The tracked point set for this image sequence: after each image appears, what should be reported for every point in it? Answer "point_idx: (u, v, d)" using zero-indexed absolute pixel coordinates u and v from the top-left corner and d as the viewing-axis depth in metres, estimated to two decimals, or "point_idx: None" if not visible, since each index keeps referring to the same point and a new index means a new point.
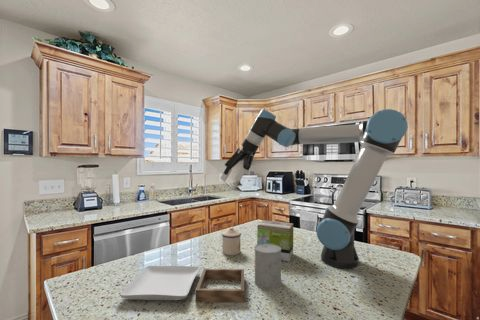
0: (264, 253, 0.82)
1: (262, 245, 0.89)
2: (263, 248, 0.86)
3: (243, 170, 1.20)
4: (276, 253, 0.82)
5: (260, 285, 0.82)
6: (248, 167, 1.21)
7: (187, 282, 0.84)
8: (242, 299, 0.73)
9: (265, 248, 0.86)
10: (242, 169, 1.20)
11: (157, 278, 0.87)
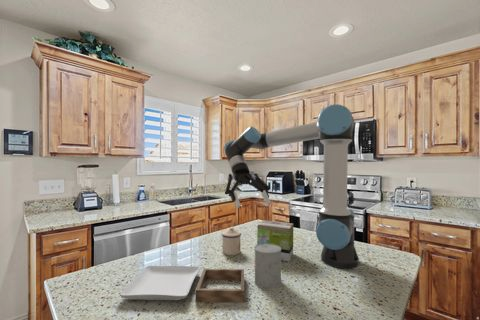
0: (264, 253, 0.82)
1: (262, 245, 0.89)
2: (263, 248, 0.86)
3: (263, 193, 1.02)
4: (276, 253, 0.82)
5: (260, 285, 0.82)
6: None
7: (187, 282, 0.84)
8: (242, 299, 0.73)
9: (265, 248, 0.86)
10: (262, 194, 1.02)
11: (157, 278, 0.87)
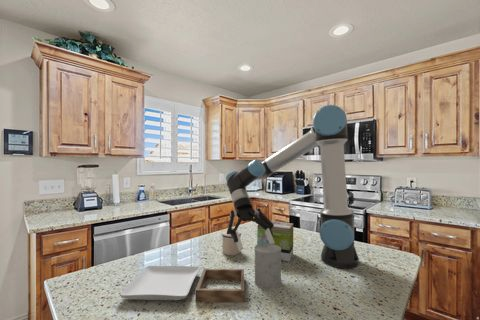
0: (264, 253, 0.82)
1: (262, 245, 0.89)
2: (263, 248, 0.86)
3: (267, 231, 0.97)
4: (276, 253, 0.82)
5: (260, 285, 0.82)
6: (271, 225, 0.99)
7: (187, 282, 0.84)
8: (242, 299, 0.73)
9: (265, 248, 0.86)
10: (266, 232, 0.98)
11: (157, 278, 0.87)
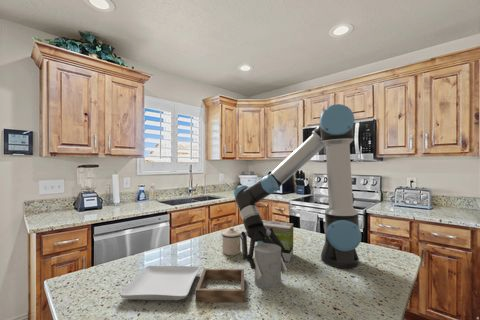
0: (264, 253, 0.82)
1: (262, 245, 0.89)
2: (263, 248, 0.86)
3: None
4: (276, 253, 0.82)
5: (260, 285, 0.82)
6: (282, 249, 0.90)
7: (187, 282, 0.84)
8: (242, 299, 0.73)
9: (265, 248, 0.86)
10: None
11: (157, 278, 0.87)
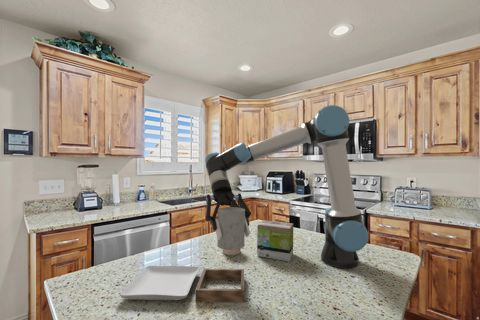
0: (225, 213, 0.79)
1: (227, 208, 0.86)
2: (227, 210, 0.83)
3: None
4: (238, 213, 0.79)
5: (221, 246, 0.80)
6: (248, 214, 0.88)
7: (187, 282, 0.84)
8: (242, 299, 0.73)
9: (229, 210, 0.84)
10: None
11: (157, 278, 0.87)
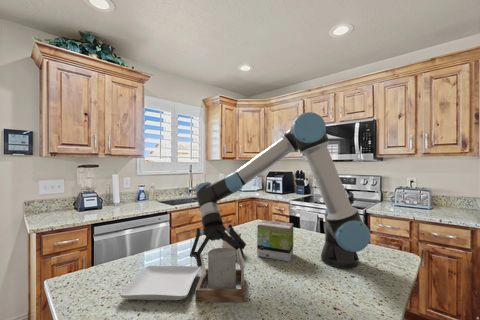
0: (215, 258, 0.77)
1: (218, 249, 0.84)
2: (217, 253, 0.81)
3: (237, 252, 0.85)
4: (228, 258, 0.77)
5: None
6: None
7: (187, 282, 0.84)
8: (242, 299, 0.73)
9: (220, 252, 0.82)
10: (237, 253, 0.86)
11: (157, 278, 0.87)
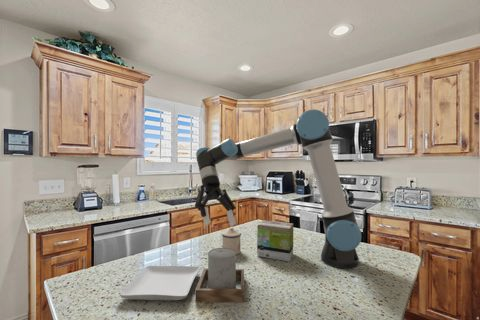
0: (215, 258, 0.77)
1: (218, 249, 0.84)
2: (217, 253, 0.81)
3: (229, 212, 1.01)
4: (228, 258, 0.77)
5: None
6: None
7: (187, 282, 0.84)
8: (242, 299, 0.73)
9: (220, 252, 0.82)
10: (228, 212, 1.02)
11: (157, 278, 0.87)
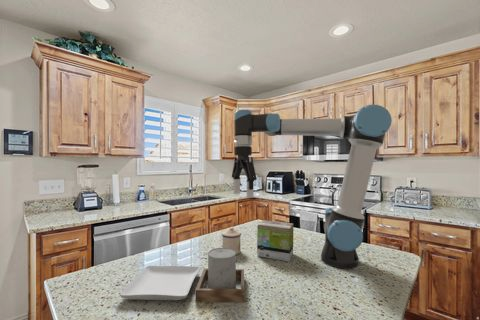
0: (215, 258, 0.77)
1: (218, 249, 0.84)
2: (217, 253, 0.81)
3: (238, 181, 1.09)
4: (228, 258, 0.77)
5: None
6: None
7: (187, 282, 0.84)
8: (242, 299, 0.73)
9: (220, 252, 0.82)
10: (236, 181, 1.09)
11: (157, 278, 0.87)
